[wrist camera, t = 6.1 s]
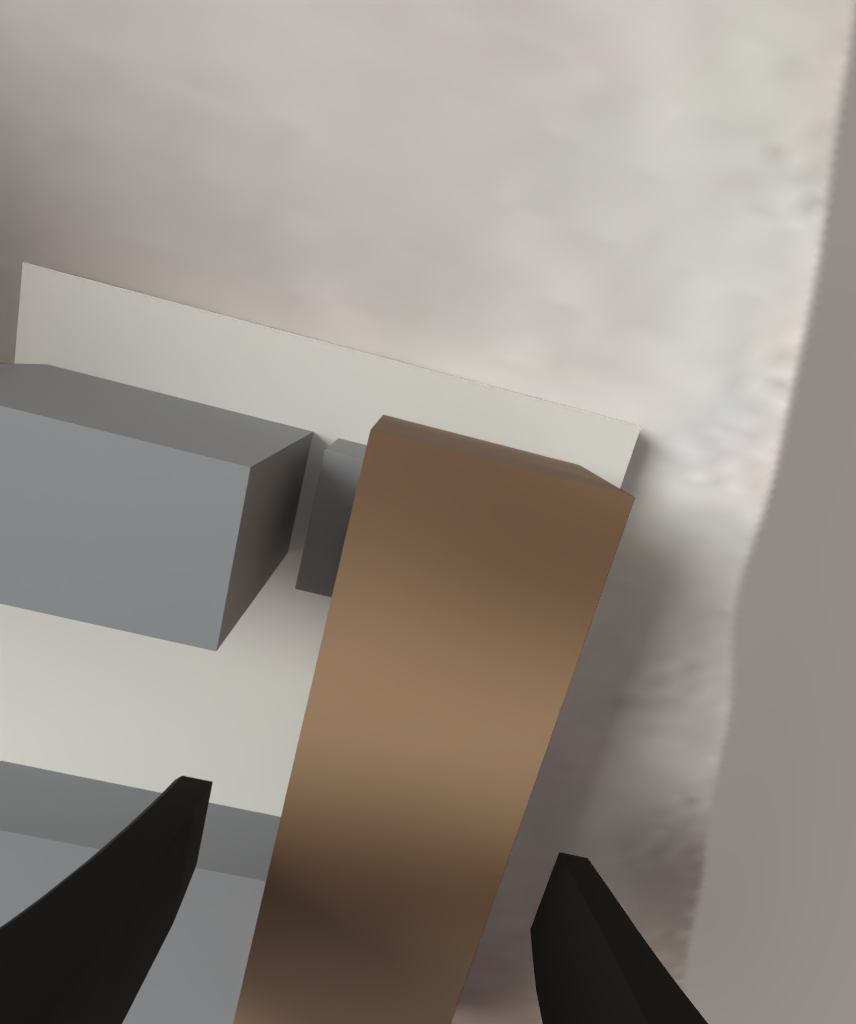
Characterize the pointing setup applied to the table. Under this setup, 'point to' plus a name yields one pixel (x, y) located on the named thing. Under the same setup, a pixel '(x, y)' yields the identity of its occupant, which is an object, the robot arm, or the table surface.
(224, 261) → the table surface
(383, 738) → the walnut bar
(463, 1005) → the table surface
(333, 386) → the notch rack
